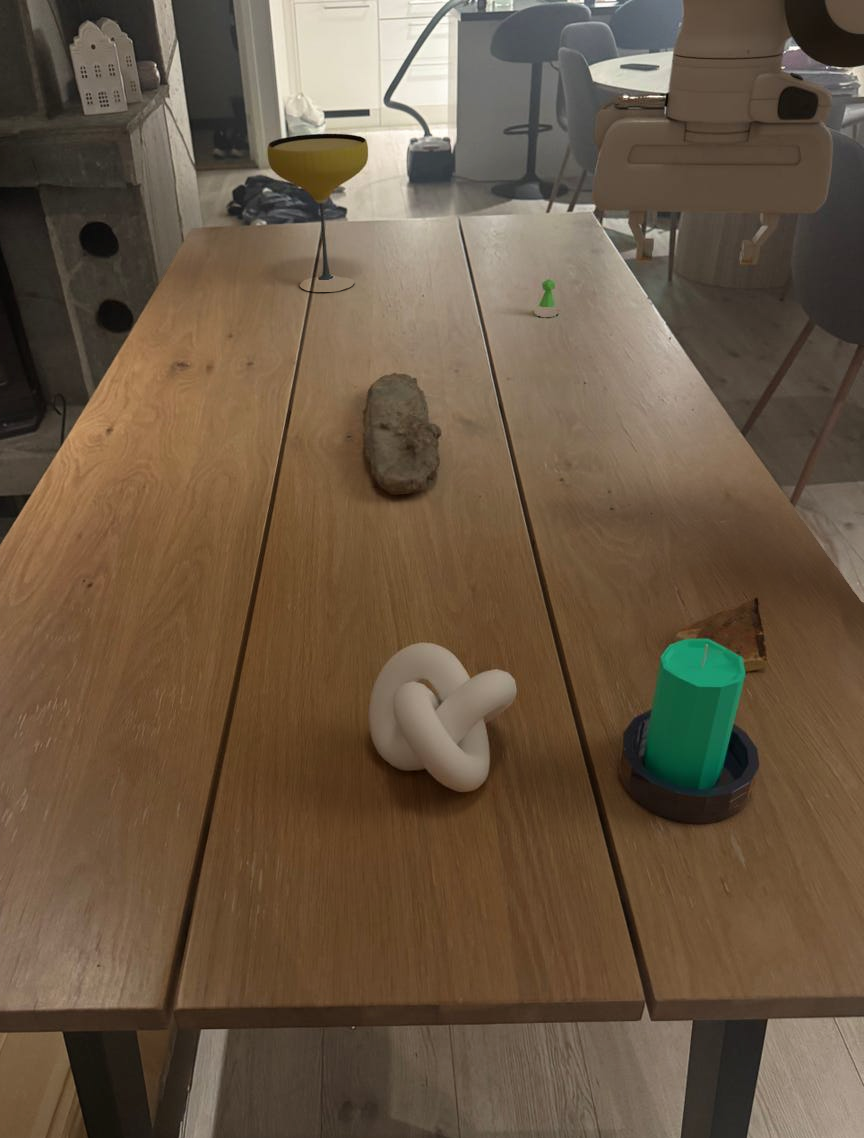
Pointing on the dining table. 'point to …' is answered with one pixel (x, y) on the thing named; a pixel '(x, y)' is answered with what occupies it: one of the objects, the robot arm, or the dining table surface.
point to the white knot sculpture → (437, 715)
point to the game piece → (548, 294)
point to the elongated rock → (400, 435)
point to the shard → (734, 633)
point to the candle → (693, 712)
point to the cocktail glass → (318, 167)
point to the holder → (682, 800)
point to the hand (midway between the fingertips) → (695, 261)
